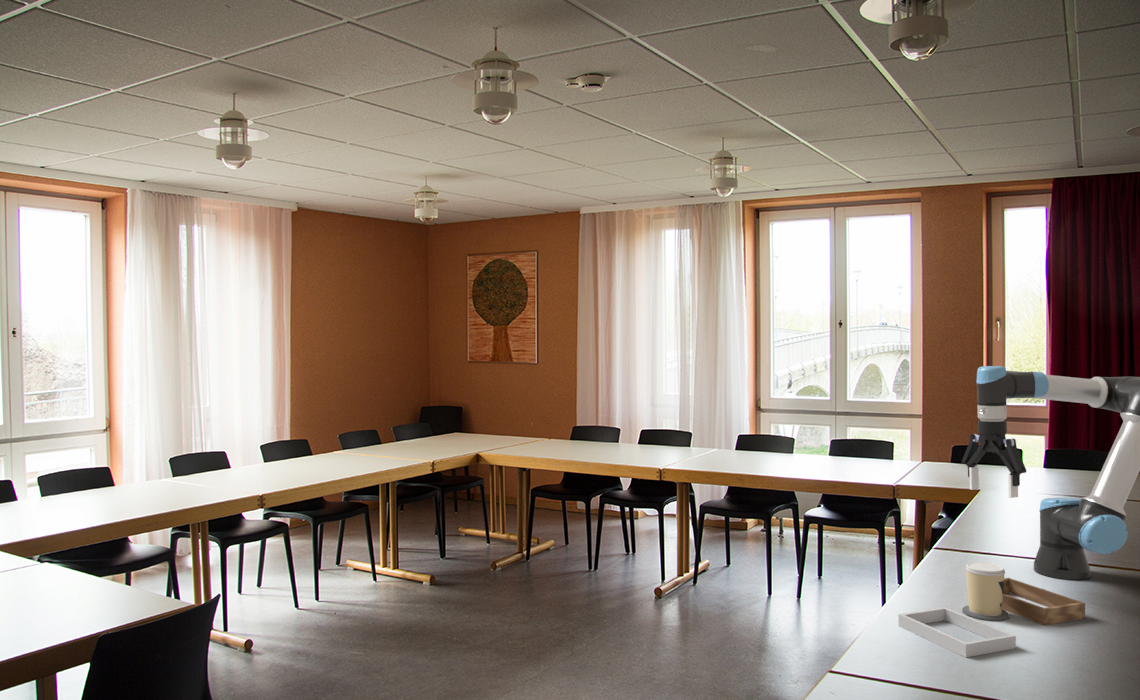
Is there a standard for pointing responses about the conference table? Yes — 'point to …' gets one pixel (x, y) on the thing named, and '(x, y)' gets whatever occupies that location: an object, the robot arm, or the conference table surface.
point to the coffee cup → (985, 588)
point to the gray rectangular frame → (917, 625)
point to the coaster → (1001, 617)
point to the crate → (1057, 604)
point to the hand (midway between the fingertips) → (993, 493)
